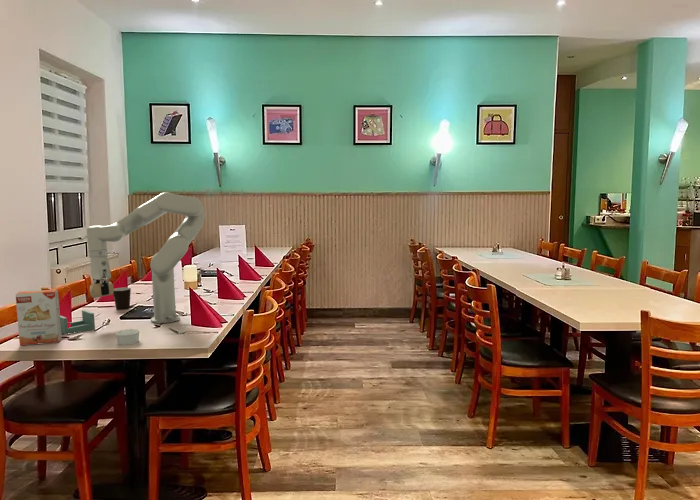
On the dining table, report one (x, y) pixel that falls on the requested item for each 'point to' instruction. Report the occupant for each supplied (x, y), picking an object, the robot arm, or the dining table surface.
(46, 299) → the cracker box
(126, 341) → the ramekin
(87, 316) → the roll holder
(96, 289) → the paper roll
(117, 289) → the coffee mug
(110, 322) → the dining table surface
